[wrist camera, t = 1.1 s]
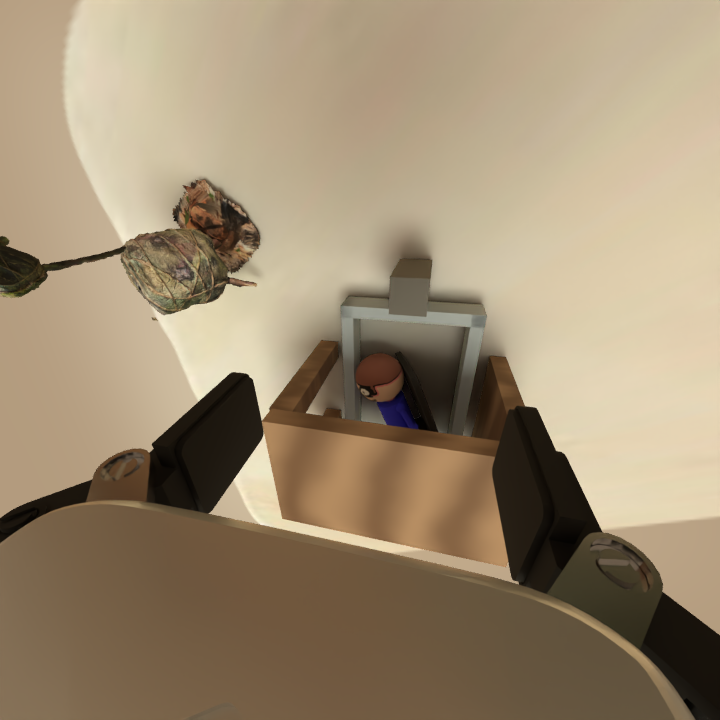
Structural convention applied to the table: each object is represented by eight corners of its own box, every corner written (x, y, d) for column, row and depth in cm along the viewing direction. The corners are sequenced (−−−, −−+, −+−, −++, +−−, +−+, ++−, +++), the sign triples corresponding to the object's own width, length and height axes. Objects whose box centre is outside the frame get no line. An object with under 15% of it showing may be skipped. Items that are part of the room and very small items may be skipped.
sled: (491, 261, 28) (505, 282, 22) (452, 464, 40) (454, 512, 34) (347, 256, 30) (325, 273, 25) (352, 448, 43) (338, 490, 37)
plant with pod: (231, 300, 36) (50, 399, 19) (167, 204, 32) (-129, 224, 15) (284, 270, 33) (121, 359, 16) (219, 161, 29) (-82, 127, 12)
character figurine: (401, 441, 41) (360, 344, 36) (456, 437, 38) (421, 329, 33) (388, 490, 35) (336, 381, 29) (453, 489, 32) (409, 367, 26)
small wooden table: (505, 357, 32) (547, 464, 20) (484, 442, 38) (505, 567, 26) (321, 340, 36) (259, 420, 24) (327, 420, 42) (280, 518, 30)
